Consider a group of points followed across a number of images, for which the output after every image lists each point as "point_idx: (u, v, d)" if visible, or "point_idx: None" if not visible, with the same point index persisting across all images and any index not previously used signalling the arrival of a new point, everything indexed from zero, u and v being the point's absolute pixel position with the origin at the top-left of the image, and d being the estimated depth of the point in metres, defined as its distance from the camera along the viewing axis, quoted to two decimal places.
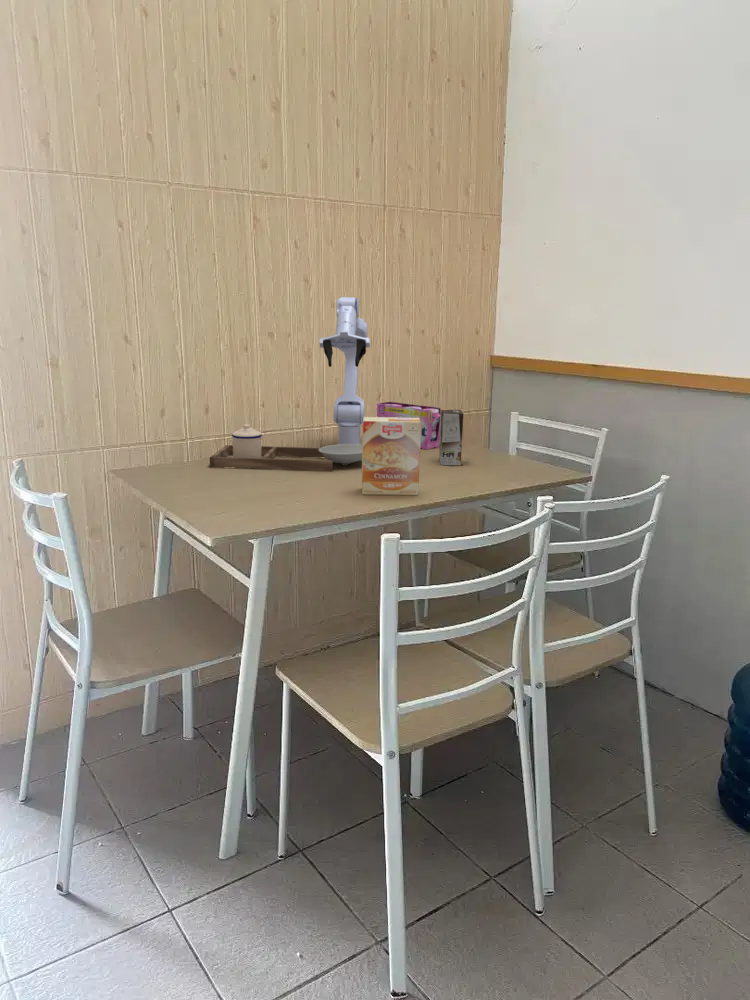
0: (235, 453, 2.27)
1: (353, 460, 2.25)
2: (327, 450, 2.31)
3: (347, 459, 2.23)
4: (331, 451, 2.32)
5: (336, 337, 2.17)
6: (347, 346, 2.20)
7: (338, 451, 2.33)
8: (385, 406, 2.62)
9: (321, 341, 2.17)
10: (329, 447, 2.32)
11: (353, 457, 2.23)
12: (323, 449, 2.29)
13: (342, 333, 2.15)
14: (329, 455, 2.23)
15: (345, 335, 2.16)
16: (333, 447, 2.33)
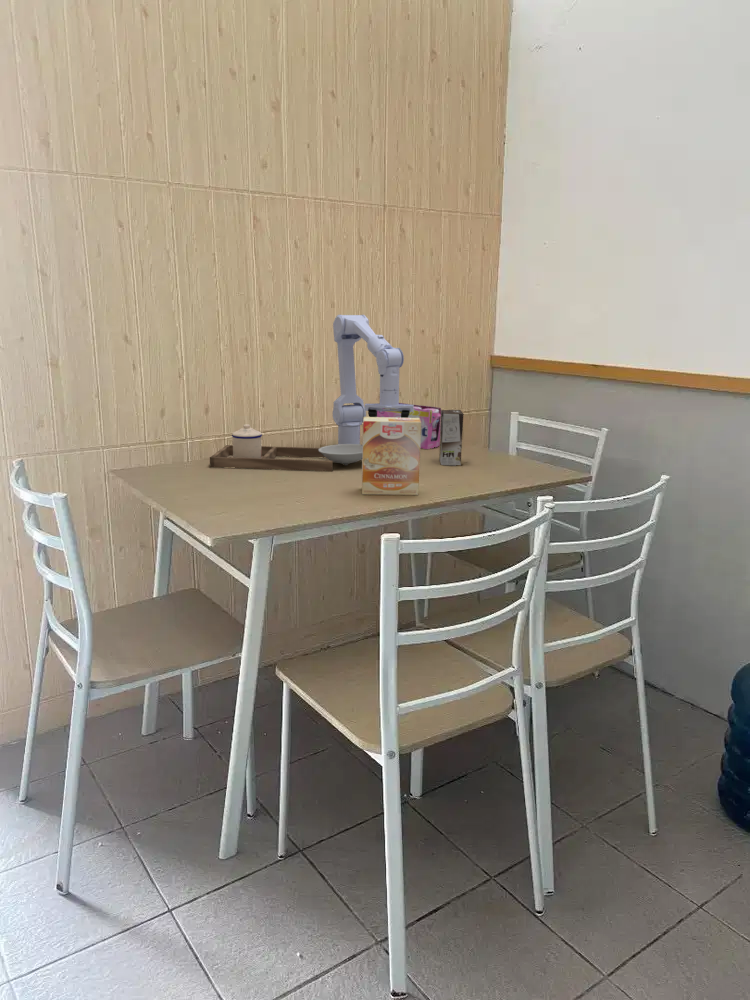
0: (235, 453, 2.27)
1: (353, 460, 2.25)
2: (327, 450, 2.31)
3: (347, 459, 2.23)
4: (331, 451, 2.32)
5: (381, 407, 2.22)
6: None
7: (338, 451, 2.33)
8: None
9: (366, 408, 2.24)
10: (329, 447, 2.32)
11: (353, 457, 2.23)
12: (323, 449, 2.29)
13: None
14: (329, 455, 2.23)
15: None
16: (333, 447, 2.33)
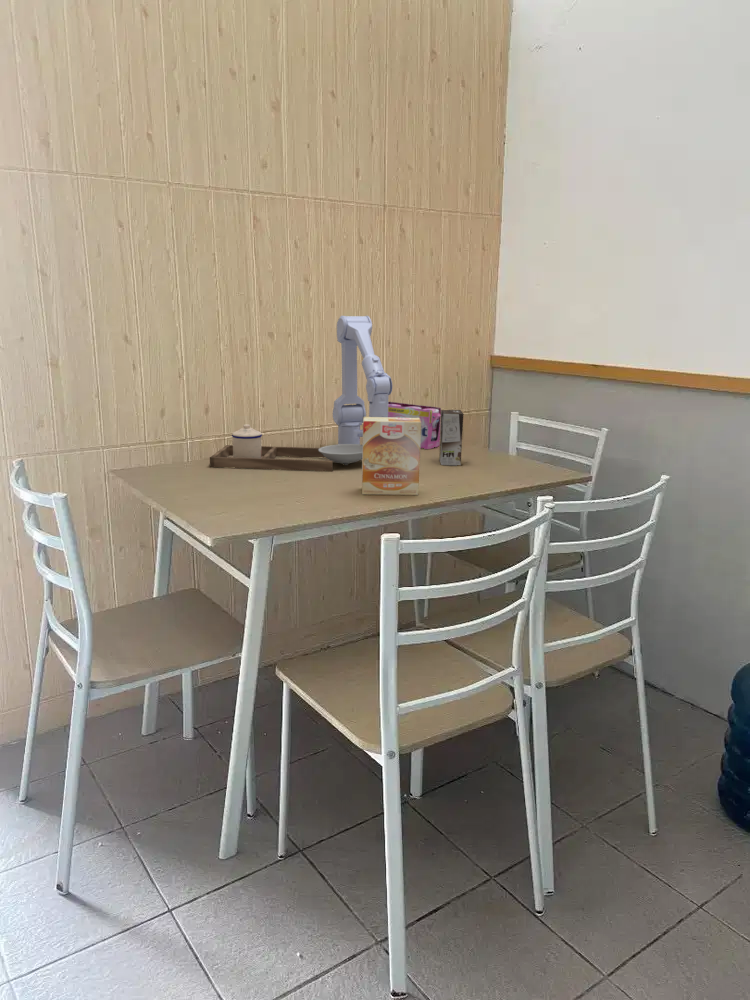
0: (235, 453, 2.27)
1: (353, 460, 2.25)
2: (327, 450, 2.31)
3: (347, 459, 2.23)
4: (331, 451, 2.32)
5: None
6: None
7: (338, 451, 2.33)
8: None
9: (355, 435, 2.26)
10: (329, 447, 2.32)
11: (353, 457, 2.23)
12: (323, 449, 2.29)
13: None
14: (329, 455, 2.23)
15: None
16: (333, 447, 2.33)
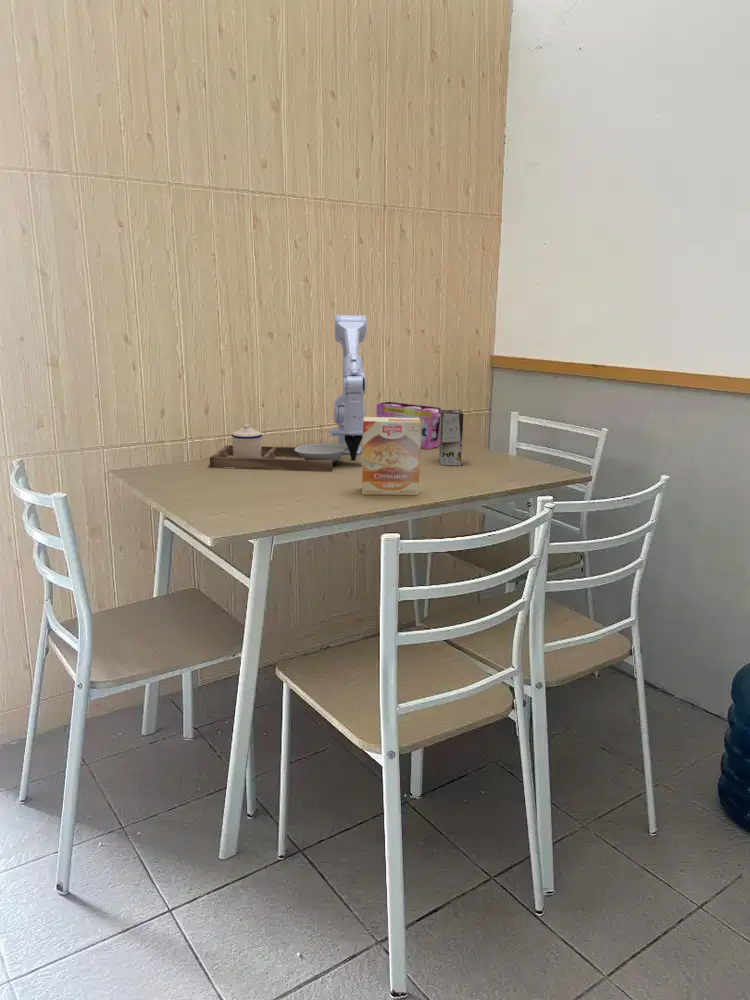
0: (235, 453, 2.27)
1: (330, 459, 2.25)
2: (303, 450, 2.30)
3: (324, 458, 2.23)
4: (307, 451, 2.31)
5: (345, 433, 2.25)
6: None
7: (313, 450, 2.33)
8: (385, 406, 2.62)
9: (331, 434, 2.26)
10: (305, 447, 2.31)
11: (330, 456, 2.23)
12: (299, 449, 2.28)
13: None
14: (306, 455, 2.22)
15: None
16: (308, 447, 2.33)
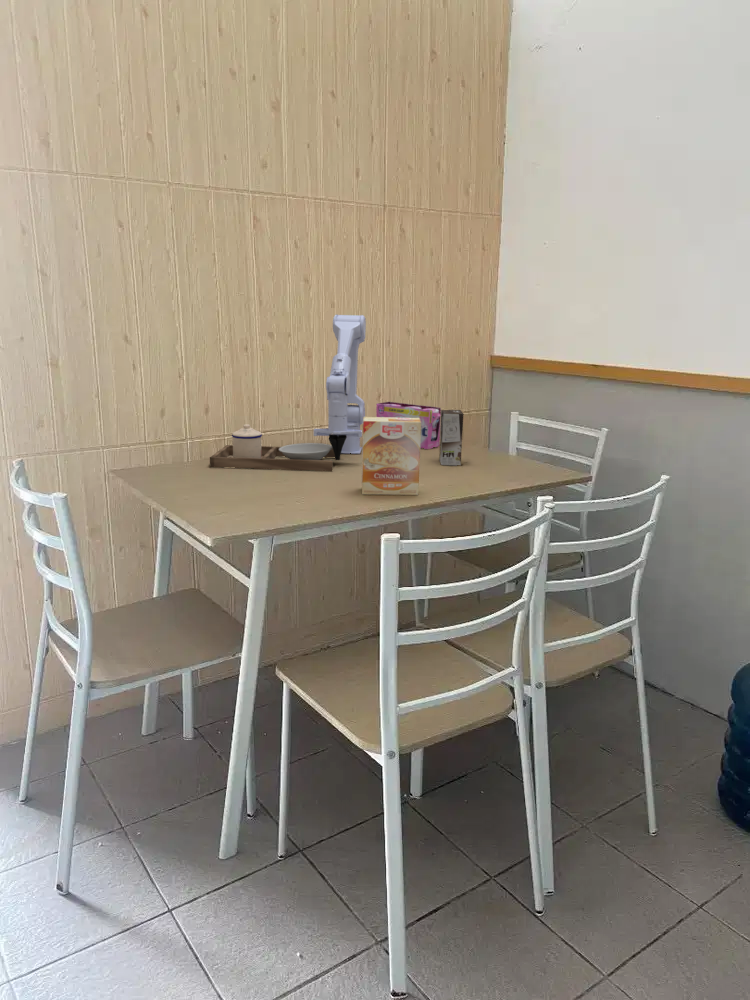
0: (235, 453, 2.27)
1: (314, 459, 2.25)
2: (287, 449, 2.30)
3: (308, 458, 2.23)
4: (291, 450, 2.32)
5: None
6: None
7: (298, 450, 2.33)
8: (385, 406, 2.62)
9: (315, 434, 2.27)
10: (289, 446, 2.32)
11: (314, 456, 2.24)
12: (283, 448, 2.29)
13: (335, 433, 2.24)
14: (290, 454, 2.22)
15: None
16: (293, 446, 2.33)
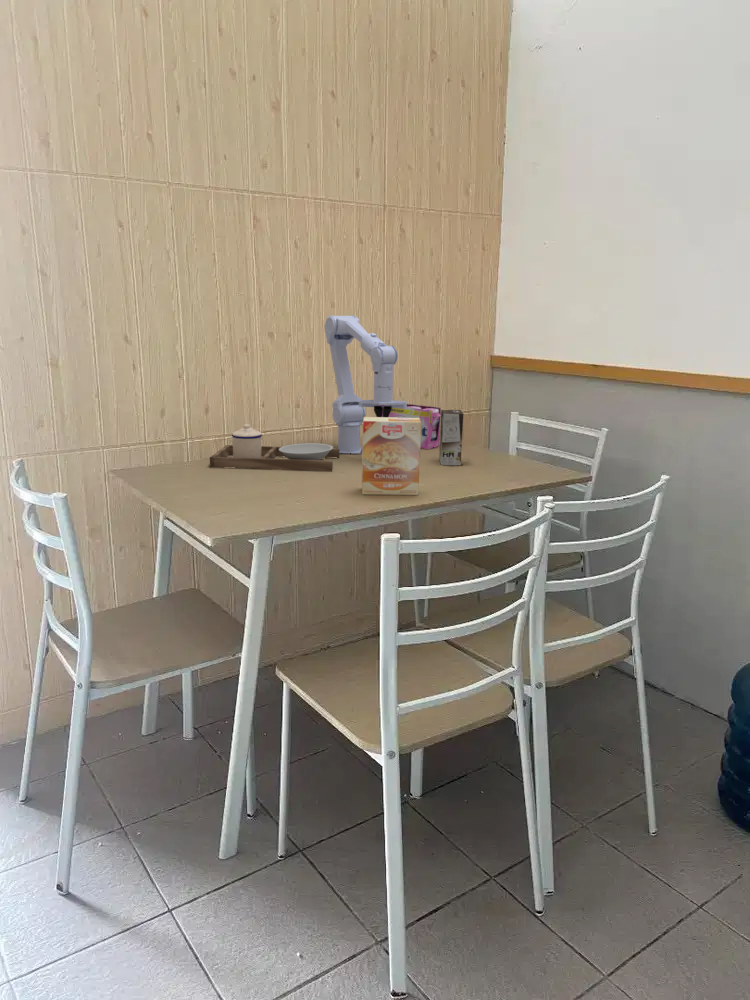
0: (235, 453, 2.27)
1: (314, 459, 2.25)
2: (287, 449, 2.30)
3: (308, 458, 2.23)
4: (291, 450, 2.32)
5: (375, 404, 2.27)
6: None
7: (298, 450, 2.33)
8: None
9: (360, 405, 2.28)
10: (289, 446, 2.32)
11: (314, 456, 2.24)
12: (283, 449, 2.29)
13: (380, 404, 2.25)
14: (290, 454, 2.22)
15: None
16: (293, 446, 2.33)
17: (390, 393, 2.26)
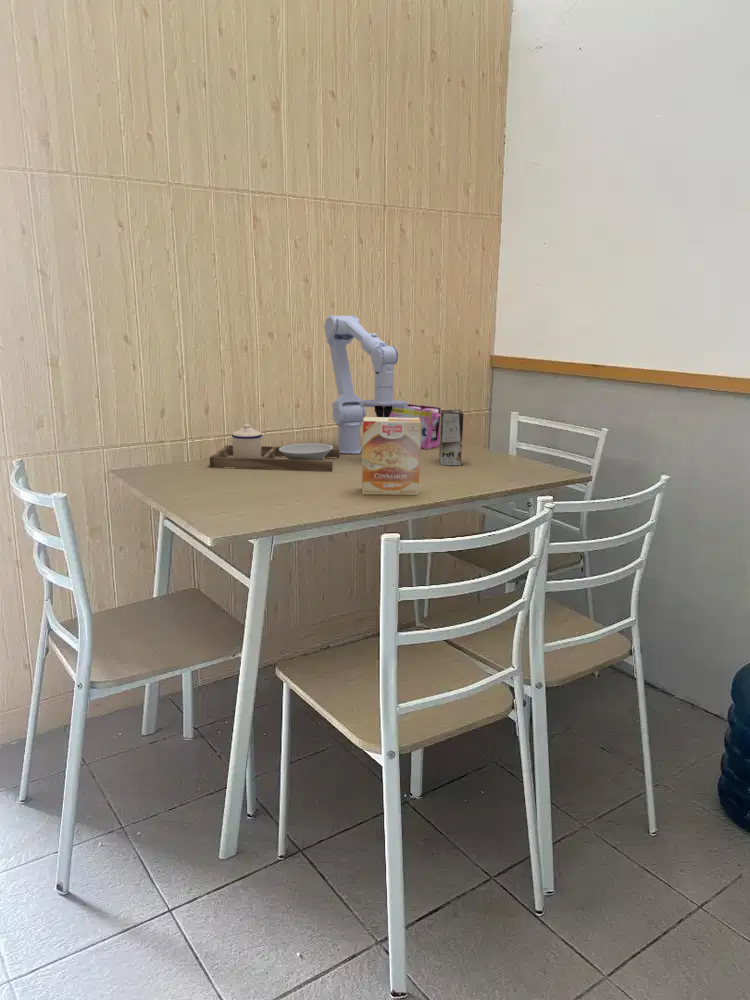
0: (235, 453, 2.27)
1: (314, 459, 2.25)
2: (287, 450, 2.30)
3: (308, 458, 2.23)
4: (291, 450, 2.32)
5: (375, 404, 2.27)
6: None
7: (298, 450, 2.33)
8: None
9: (361, 405, 2.28)
10: (289, 446, 2.32)
11: (314, 456, 2.24)
12: (283, 449, 2.29)
13: (381, 404, 2.25)
14: (290, 454, 2.22)
15: None
16: (293, 446, 2.33)
17: (391, 393, 2.26)
